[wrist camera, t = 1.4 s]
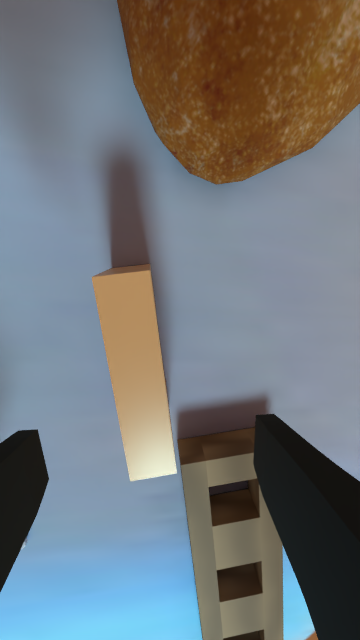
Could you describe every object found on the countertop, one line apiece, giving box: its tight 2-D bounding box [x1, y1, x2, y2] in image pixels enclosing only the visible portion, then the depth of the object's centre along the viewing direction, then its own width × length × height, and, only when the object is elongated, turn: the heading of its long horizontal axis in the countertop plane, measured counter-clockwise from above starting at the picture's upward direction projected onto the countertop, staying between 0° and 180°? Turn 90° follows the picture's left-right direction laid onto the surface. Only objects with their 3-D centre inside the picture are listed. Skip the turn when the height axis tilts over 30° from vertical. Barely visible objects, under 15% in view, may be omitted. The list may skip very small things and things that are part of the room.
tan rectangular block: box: [92, 264, 177, 481], centre depth 15 cm, size 2×10×6 cm, turn 6°
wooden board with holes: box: [177, 427, 283, 640], centre depth 23 cm, size 7×24×2 cm, turn 6°
